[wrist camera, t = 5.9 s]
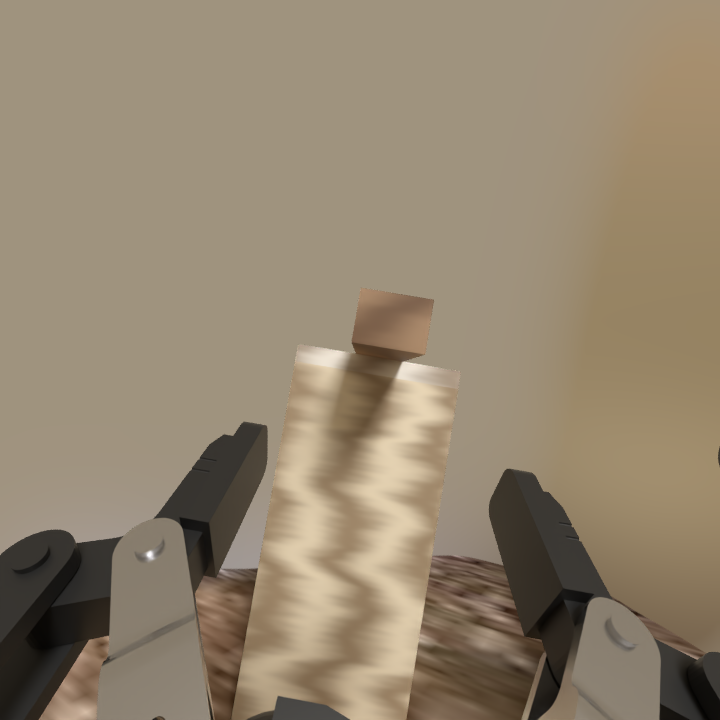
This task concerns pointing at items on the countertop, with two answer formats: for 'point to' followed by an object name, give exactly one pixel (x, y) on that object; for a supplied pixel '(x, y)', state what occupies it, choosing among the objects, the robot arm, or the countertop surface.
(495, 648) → the countertop surface
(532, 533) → the robot arm
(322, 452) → the stand
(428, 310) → the tan wooden plank
